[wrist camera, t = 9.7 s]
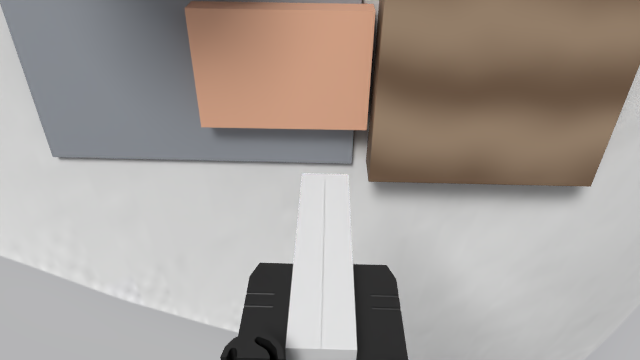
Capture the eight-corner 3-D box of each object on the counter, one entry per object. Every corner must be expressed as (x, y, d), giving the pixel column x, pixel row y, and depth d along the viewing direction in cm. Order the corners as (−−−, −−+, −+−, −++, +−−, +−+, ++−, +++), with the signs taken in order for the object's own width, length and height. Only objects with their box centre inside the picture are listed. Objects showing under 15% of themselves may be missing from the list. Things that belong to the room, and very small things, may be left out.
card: (191, 1, 26) (184, 8, 25) (373, 3, 26) (375, 11, 25) (206, 116, 30) (201, 127, 29) (365, 119, 30) (366, 130, 29)
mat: (-24, -81, 25) (-29, -80, 24) (365, -73, 25) (366, -72, 24) (55, 153, 33) (53, 156, 32) (351, 160, 32) (351, 163, 32)
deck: (385, -72, 25) (390, -66, 23) (658, -67, 25) (689, -60, 23) (366, 160, 32) (368, 181, 30) (573, 165, 32) (590, 186, 30)
